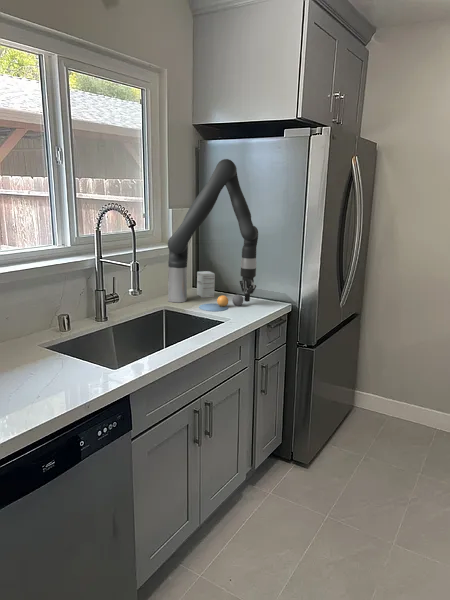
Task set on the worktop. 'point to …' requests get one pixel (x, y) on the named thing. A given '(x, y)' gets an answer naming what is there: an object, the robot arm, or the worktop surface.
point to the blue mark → (212, 307)
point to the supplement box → (205, 284)
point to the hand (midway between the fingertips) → (246, 301)
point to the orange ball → (222, 301)
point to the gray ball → (237, 300)
